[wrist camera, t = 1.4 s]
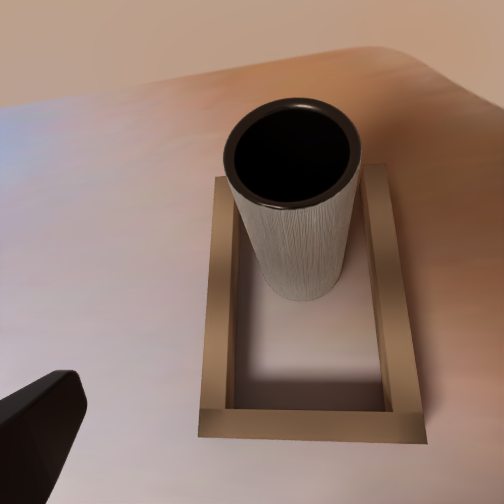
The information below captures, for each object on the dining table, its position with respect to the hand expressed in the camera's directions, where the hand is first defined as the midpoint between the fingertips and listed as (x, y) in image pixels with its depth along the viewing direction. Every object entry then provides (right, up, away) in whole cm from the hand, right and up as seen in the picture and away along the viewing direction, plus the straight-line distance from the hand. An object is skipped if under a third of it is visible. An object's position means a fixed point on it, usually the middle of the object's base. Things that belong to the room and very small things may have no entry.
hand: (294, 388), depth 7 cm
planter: (+2, +2, +14) cm, 15 cm away
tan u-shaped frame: (+2, 0, +13) cm, 14 cm away
